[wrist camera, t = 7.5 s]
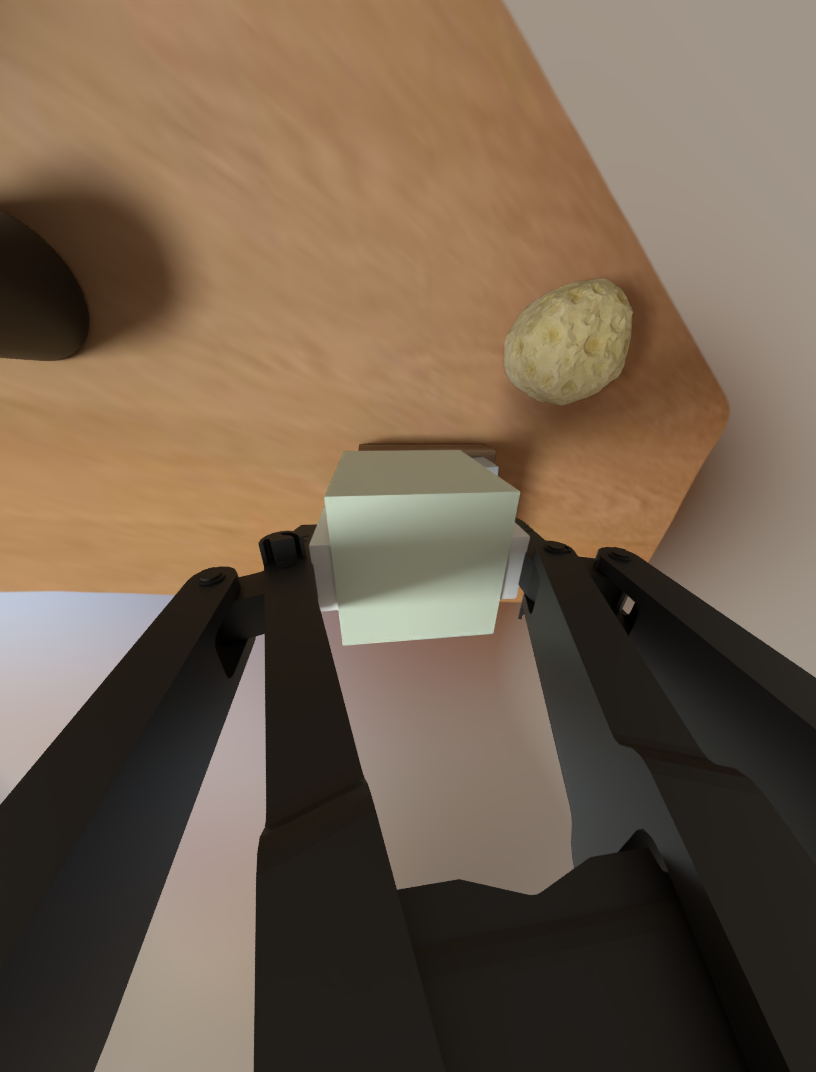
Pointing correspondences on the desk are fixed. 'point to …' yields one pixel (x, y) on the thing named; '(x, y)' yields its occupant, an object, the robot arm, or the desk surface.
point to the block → (417, 544)
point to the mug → (37, 298)
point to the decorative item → (570, 342)
